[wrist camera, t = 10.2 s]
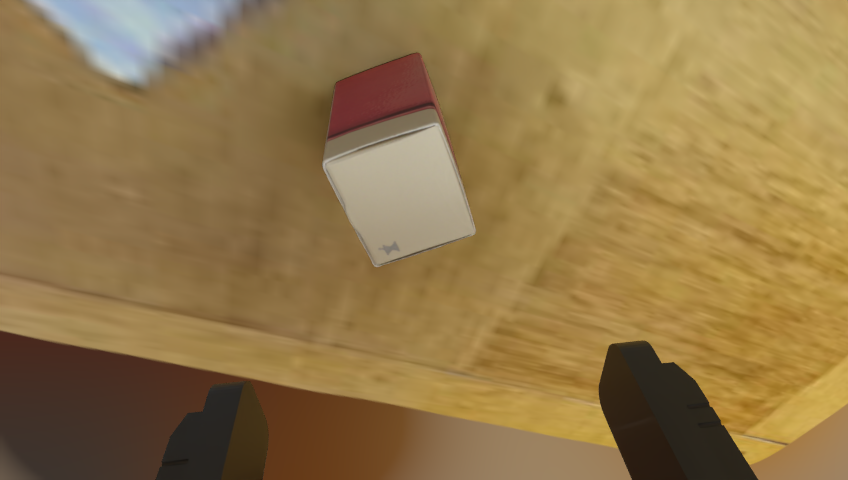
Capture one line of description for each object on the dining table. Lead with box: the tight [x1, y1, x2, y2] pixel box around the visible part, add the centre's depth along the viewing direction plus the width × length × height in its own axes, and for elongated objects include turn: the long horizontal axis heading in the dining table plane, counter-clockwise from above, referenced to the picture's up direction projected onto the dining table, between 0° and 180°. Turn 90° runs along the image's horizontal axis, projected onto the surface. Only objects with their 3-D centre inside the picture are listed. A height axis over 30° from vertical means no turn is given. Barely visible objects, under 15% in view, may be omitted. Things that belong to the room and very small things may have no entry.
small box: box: [322, 53, 476, 267], centre depth 21 cm, size 5×4×8 cm
